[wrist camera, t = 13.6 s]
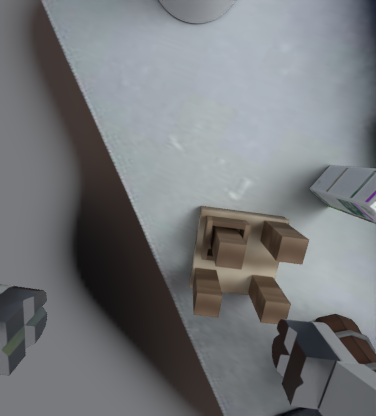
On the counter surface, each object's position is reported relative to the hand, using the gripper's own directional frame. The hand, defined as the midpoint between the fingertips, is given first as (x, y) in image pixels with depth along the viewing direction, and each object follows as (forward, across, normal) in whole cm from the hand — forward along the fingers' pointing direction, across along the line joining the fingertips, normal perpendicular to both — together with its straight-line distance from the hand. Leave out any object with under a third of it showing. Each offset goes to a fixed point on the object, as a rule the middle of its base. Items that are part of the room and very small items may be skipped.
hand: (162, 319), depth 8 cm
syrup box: (+35, -27, -3) cm, 45 cm away
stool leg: (+33, -8, +8) cm, 35 cm away
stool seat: (+35, -12, +12) cm, 39 cm away
